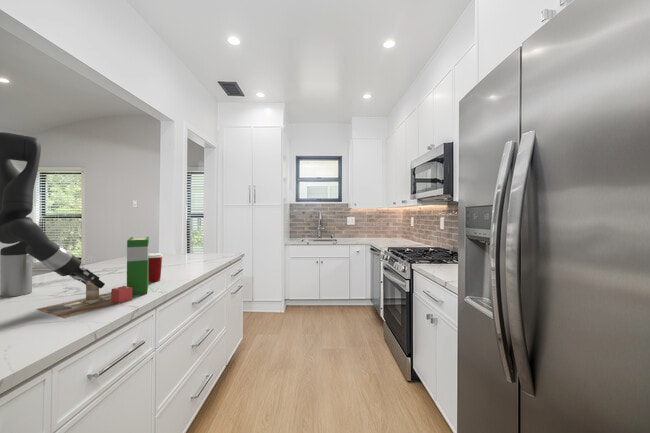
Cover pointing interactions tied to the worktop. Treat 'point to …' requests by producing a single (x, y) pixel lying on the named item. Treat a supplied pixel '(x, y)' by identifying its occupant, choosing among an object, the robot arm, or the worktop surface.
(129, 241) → the hardback book
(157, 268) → the paper cup
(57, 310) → the game board
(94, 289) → the birch pawn
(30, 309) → the worktop surface
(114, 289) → the red die
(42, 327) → the worktop surface
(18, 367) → the worktop surface
